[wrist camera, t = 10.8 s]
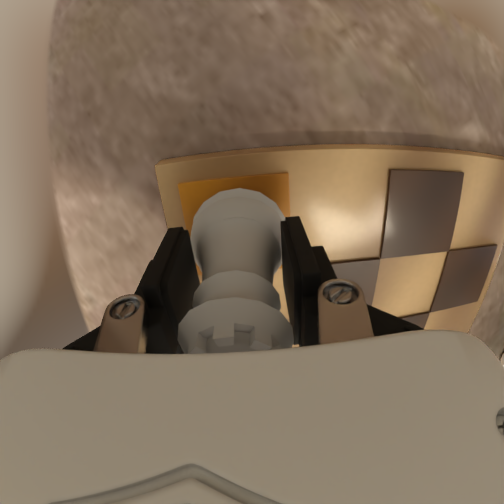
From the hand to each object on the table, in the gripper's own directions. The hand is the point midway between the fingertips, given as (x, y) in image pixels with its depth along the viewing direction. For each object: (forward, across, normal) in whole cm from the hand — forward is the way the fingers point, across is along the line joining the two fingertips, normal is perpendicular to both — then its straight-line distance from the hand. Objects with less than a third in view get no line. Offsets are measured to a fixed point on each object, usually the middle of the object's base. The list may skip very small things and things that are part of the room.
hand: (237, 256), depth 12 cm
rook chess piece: (+3, 0, 0) cm, 3 cm away
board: (+4, -8, +5) cm, 10 cm away
